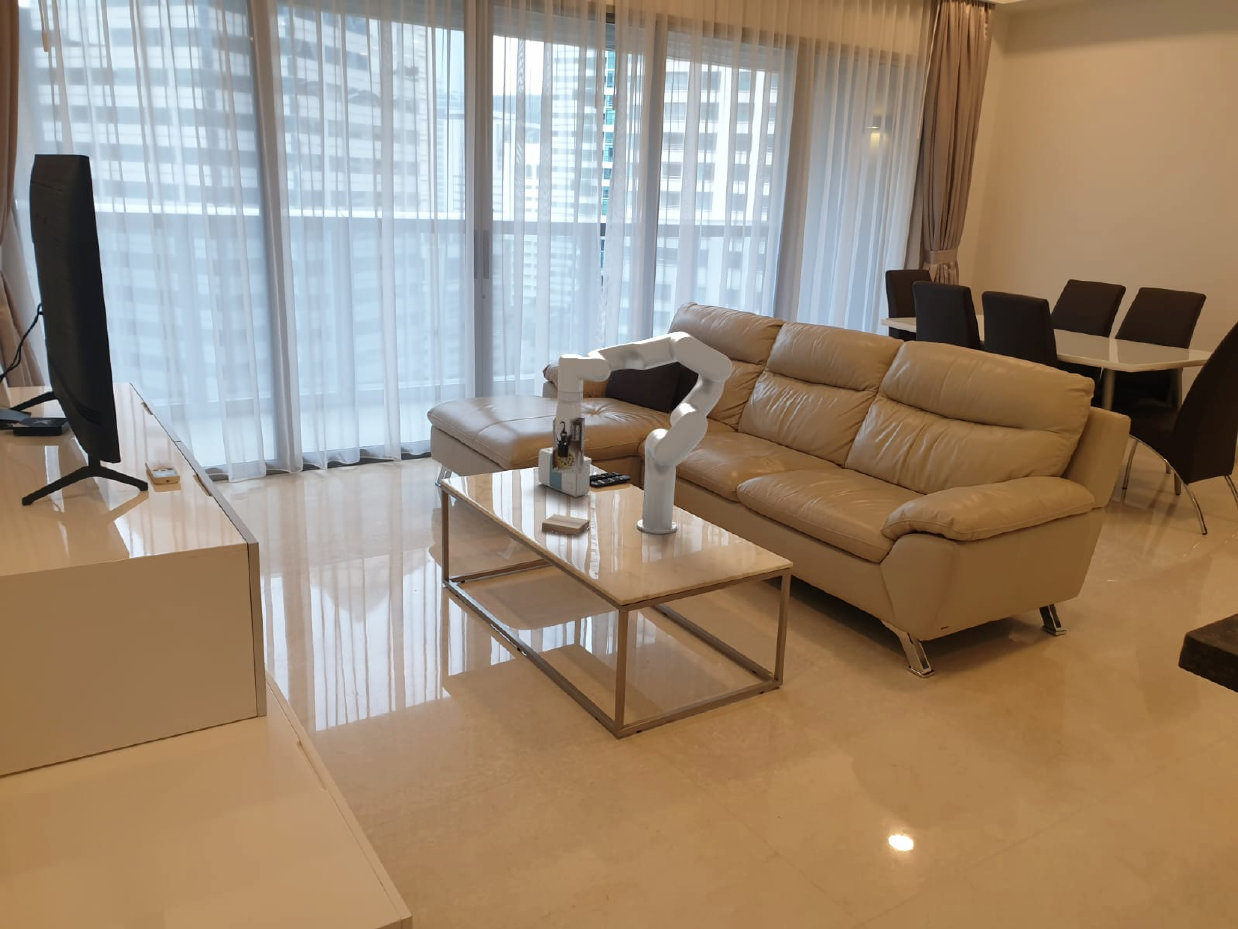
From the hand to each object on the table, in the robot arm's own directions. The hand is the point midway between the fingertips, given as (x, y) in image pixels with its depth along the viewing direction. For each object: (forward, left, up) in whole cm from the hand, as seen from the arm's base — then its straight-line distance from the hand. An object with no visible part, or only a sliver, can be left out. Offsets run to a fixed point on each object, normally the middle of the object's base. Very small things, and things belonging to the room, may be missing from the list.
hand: (568, 453), depth 274 cm
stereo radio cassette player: (-37, -17, -25) cm, 48 cm away
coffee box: (0, 0, -6) cm, 6 cm away
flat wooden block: (0, 0, -24) cm, 24 cm away
